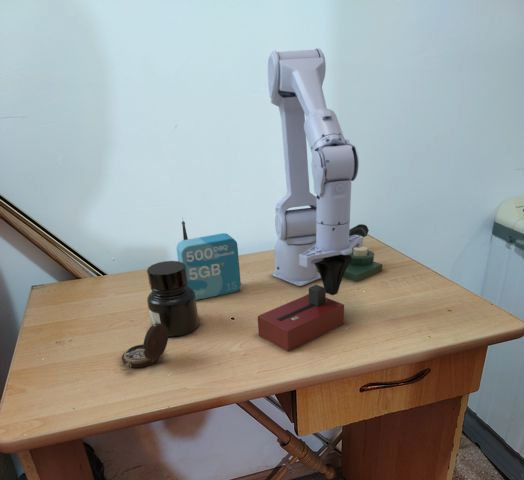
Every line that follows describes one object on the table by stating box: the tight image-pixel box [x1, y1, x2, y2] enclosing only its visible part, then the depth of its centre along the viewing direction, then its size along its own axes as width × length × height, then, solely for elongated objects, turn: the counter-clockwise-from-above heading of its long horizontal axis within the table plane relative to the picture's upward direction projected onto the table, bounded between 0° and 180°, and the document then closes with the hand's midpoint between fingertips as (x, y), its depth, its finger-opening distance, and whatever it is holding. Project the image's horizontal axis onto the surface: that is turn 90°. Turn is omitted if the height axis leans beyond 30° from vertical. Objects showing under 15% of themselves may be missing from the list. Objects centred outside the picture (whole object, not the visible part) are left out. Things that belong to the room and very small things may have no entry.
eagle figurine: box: [349, 223, 370, 250], centre depth 119 cm, size 8×7×9 cm
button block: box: [342, 249, 383, 283], centre depth 109 cm, size 10×10×4 cm
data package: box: [176, 232, 242, 301], centre depth 100 cm, size 12×4×12 cm, turn 112°
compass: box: [119, 323, 169, 371], centre depth 78 cm, size 8×8×7 cm
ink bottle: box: [146, 260, 200, 337], centre depth 87 cm, size 10×9×12 cm
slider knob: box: [308, 284, 327, 306], centre depth 86 cm, size 2×2×3 cm
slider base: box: [257, 293, 345, 352], centre depth 85 cm, size 8×14×4 cm, turn 130°
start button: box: [353, 245, 369, 257], centre depth 109 cm, size 3×3×2 cm
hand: (331, 292), depth 88 cm, fingers closed
